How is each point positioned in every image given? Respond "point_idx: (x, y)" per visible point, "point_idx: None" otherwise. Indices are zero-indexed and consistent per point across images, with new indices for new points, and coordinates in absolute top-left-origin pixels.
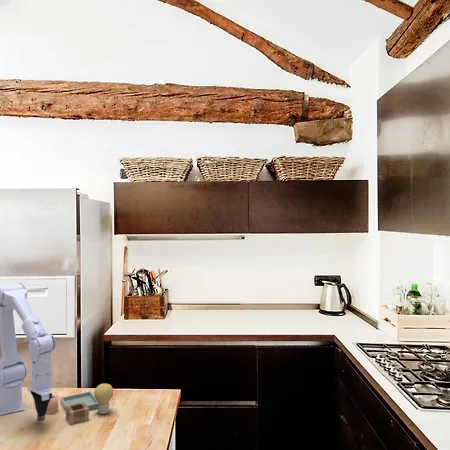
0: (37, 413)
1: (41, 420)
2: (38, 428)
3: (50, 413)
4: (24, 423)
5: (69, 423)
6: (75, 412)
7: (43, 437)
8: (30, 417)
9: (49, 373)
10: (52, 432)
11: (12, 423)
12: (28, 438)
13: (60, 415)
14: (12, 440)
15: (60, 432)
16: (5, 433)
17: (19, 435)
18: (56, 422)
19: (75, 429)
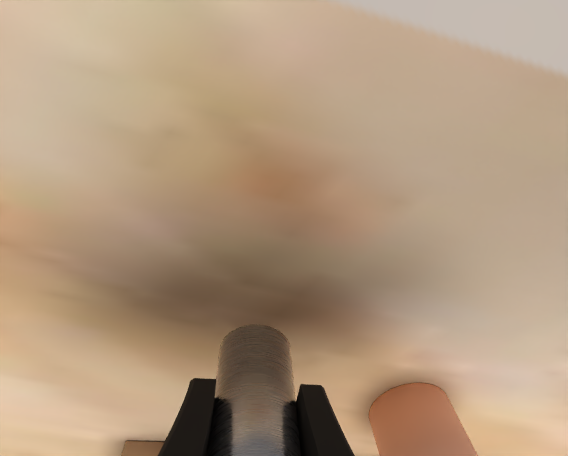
0: (245, 394)
1: (220, 355)
2: (204, 290)
3: (382, 401)
4: (384, 228)
5: (145, 444)
6: None
7: (6, 282)
8: (452, 290)
9: None
10: (69, 347)
11: (478, 140)
12: (45, 179)
13: None
14: (75, 25)
15: (41, 383)
16: (308, 6)
17: (161, 125)
18: None
19: (42, 448)
